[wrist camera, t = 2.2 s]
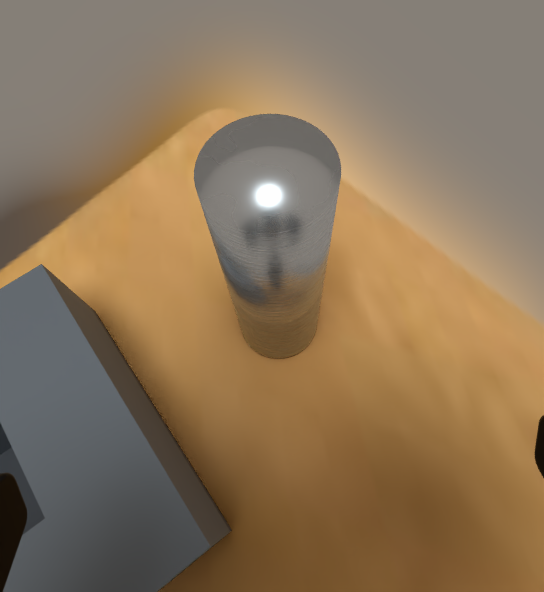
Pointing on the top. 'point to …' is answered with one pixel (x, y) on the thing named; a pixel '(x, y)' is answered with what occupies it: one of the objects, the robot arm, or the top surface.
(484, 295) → the top surface
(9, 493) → the robot arm
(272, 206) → the aluminium peg
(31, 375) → the slate socket block
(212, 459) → the top surface
